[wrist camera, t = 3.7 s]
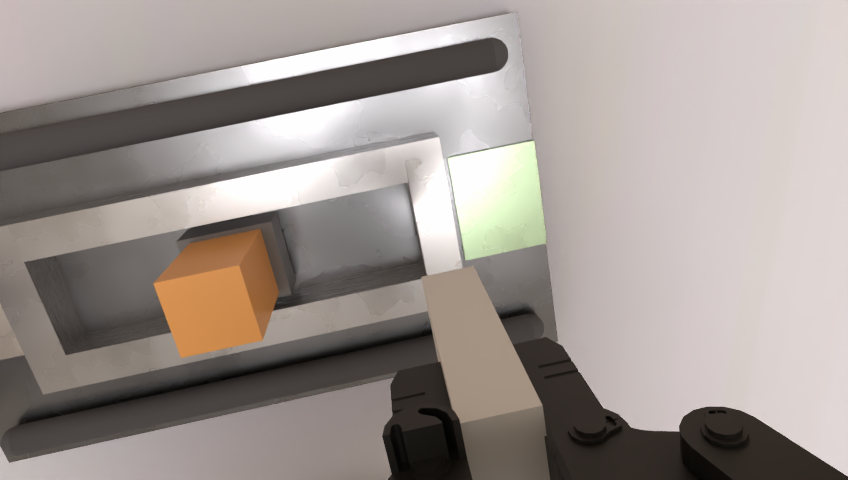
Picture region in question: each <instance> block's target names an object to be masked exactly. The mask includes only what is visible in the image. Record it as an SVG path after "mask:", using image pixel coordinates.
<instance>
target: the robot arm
mask: <svg viewBox="0 0 848 480" xmlns="http://www.w3.org/2000/svg"><path fill="white" fill-rule="evenodd" d="M421 279H422V284H423V289H424V294H425V299H426V304H427V309H428V314H429V319H430V324H431V328H432V333H433V338H434V343H435V348H436V353H437V358H438V362H436V363H431V364H426V365H422V366H417V367H412V368H408V369H403V370H398V372H397V374H396V376H395V378H394V379H393V381H392V383H391V385H390V386H391V400H392V412H393V417H392V418H391V419H390V420H389V422H388V423H387V424H386V425H385V427H384V432H383V436H382V437H383V440H384V444H385V448H386V452H387V456H388V460H389V464H390V468H391V472H392V475H391V476H390V478H389V479H388V480H848V477H847V476H846V475H844V474H843V473H841V472H840V471H838V470H836V469H835V468H833V467H832V466H830V465H829V464H827V463H825V462H824V461H822V460H821V459H819V458H818V457H816V456H814V455H813V454H811V453H810V452H808V451H807V450H805V449H804V448H802V447H800V446H799V445H797V444H796V443H794V442H793V441H791V440H789V439H788V438H786V437H785V436H783V435H782V434H780V433H779V432H777V431H775V430H774V429H772V428H771V427H769V426H768V425H766V424H764V423H763V422H761V421H760V420H758V419H757V418H755V417H753V416H751V415H749V414H746V413H744V412H742V411H740V410H735V409H731V408H726V407H704V408H700V409H696V410H693V411H691V412H690V413H689V414H687V415H686V416H684V417H683V419H682V421H681V424H680V426H679V429H680V432H668V431H645V430H639V429H634V428H630V426H629V425H628V423H627V422H626V421H625V420H624V419H623V418H621V417H620V416H619V415H618V414H616V413H614V412H611V411H609V410H607V409H603V407H602V406H601V404H600V403H599V401H598V400H597V398H596V397H595V395H594V393H593V392H592V390H591V389H590V387H589V386H588V384H587V383H586V381H585V380H584V378H583V377H582V375H581V374H580V372H578V369H577V368H576V366H575V365H574V363H573V362H571V359H570V357H569V356H568V354H567V353H566V351H565V349H564V348H563V346H561V345H559V344H558V343H556V342H554V341H552V340H551V339H549V338H547V337H544V338H540V339H535V340H530V341H526V342H521V343H516V344H512V343H511V341H510V339H509V336H508V334H507V332H506V330H505V328H504V326H503V324H502V322H501V320H500V318H499V316H498V314H497V312H496V310H495V308H494V306H493V304H492V302H491V300H490V298H489V296H488V294H487V292H486V290H485V288H484V286H483V284H482V282H481V280H480V278H479V276H478V274H477V272H476V270H475V268H474V266H471V267H466V268H461V269H457V270H452V271H447V272H442V273H438V274H433V275H428V276H423V277H421Z"/></svg>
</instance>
